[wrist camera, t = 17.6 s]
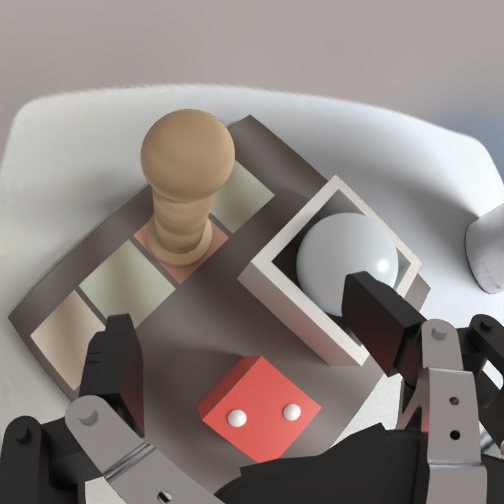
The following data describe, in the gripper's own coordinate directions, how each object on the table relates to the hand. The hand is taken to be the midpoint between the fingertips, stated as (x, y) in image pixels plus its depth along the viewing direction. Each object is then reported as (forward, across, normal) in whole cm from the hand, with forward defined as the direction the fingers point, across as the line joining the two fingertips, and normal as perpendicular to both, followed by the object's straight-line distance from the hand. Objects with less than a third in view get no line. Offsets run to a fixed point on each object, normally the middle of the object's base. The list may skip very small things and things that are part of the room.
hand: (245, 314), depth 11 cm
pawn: (+11, -2, -1) cm, 11 cm away
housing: (+8, +7, -5) cm, 12 cm away
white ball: (+8, +8, -5) cm, 12 cm away
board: (+8, +1, -6) cm, 11 cm away
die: (+3, 0, -10) cm, 10 cm away
